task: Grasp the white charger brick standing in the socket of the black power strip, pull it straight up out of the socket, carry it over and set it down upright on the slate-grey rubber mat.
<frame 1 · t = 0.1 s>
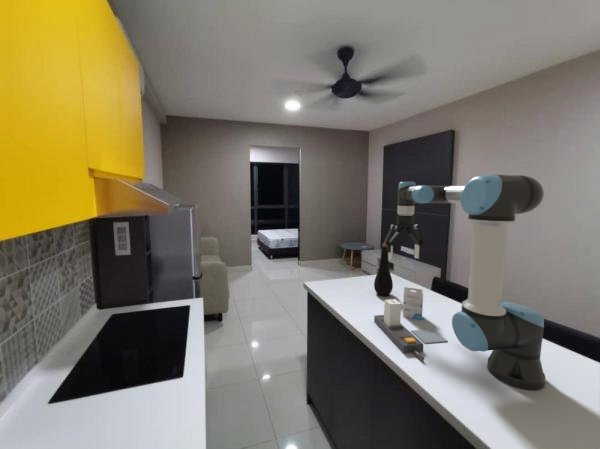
hand: (403, 258, 135), 28 cm above the table, fingers open, 13 cm apart
mat: (428, 336, 117), on the table
power strip: (396, 335, 118), on the table
charger: (391, 323, 121), point 3 cm above the table, touching power strip
bottle: (382, 294, 165), on the table
ink box: (412, 316, 136), on the table
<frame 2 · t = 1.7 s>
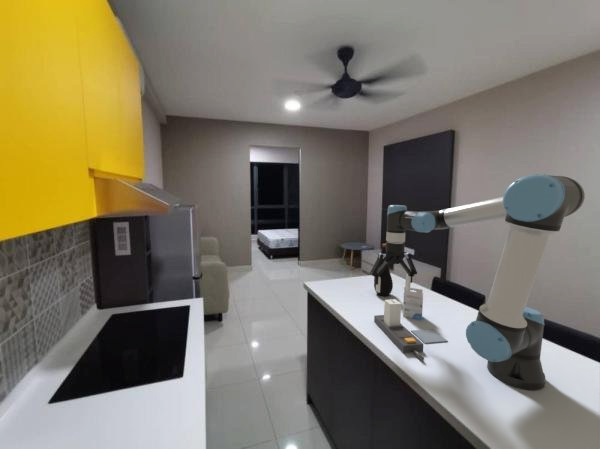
hand: (392, 290, 120), 18 cm above the table, fingers open, 13 cm apart
nothing on the table moved.
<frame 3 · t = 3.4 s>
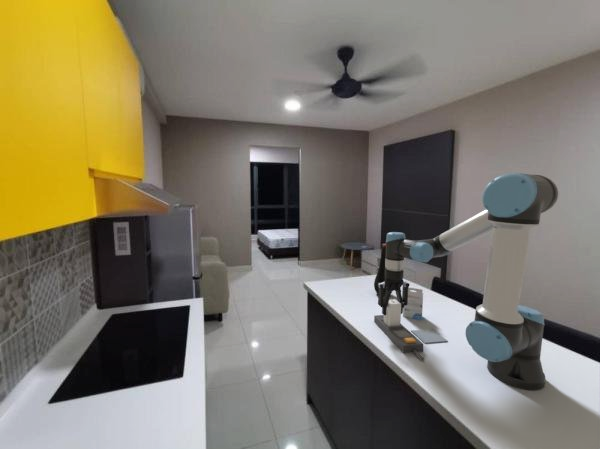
hand: (391, 321, 121), 4 cm above the table, fingers closed on charger, 5 cm apart
charger: (391, 323, 121), point 3 cm above the table, touching gripper, power strip
everything else where it was.
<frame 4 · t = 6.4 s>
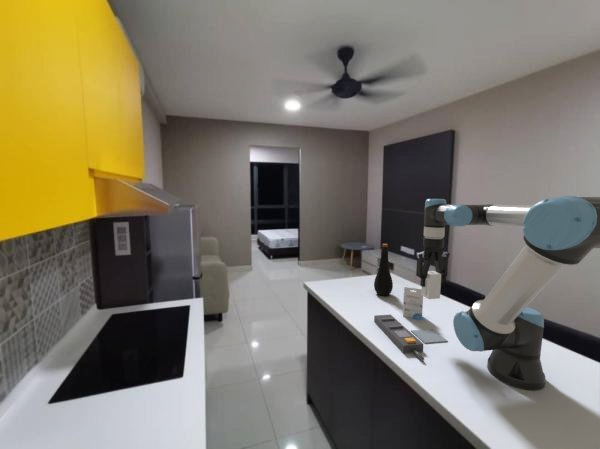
hand: (430, 293, 115), 19 cm above the table, fingers closed on charger, 5 cm apart
charger: (430, 296, 115), point 17 cm above the table, touching gripper
everything else where it was.
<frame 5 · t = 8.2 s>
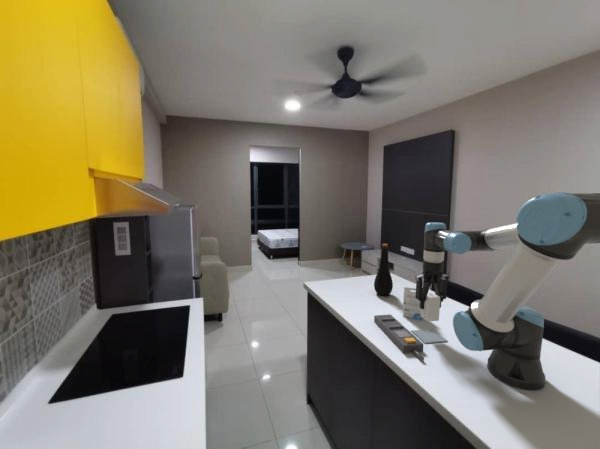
hand: (429, 315, 116), 9 cm above the table, fingers closed on charger, 5 cm apart
charger: (429, 318, 116), point 8 cm above the table, touching gripper
everything else where it was.
when the fingers open (3 cm above the table, at t = 9.6 s): charger drops 2 cm, resting on mat.
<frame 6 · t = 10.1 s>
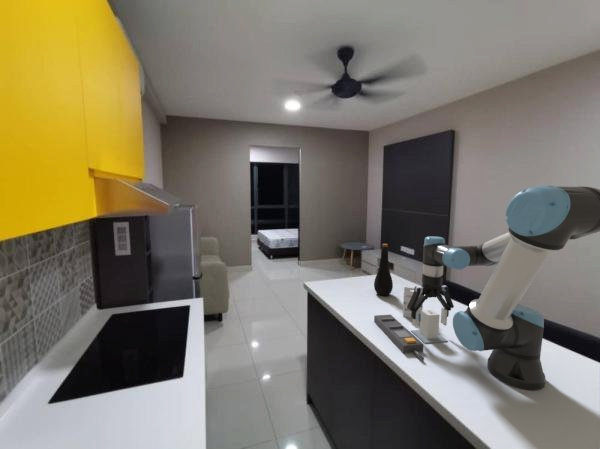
hand: (429, 325, 116), 5 cm above the table, fingers open, 12 cm apart
charger: (428, 335, 117), resting on mat
everything else where it was.
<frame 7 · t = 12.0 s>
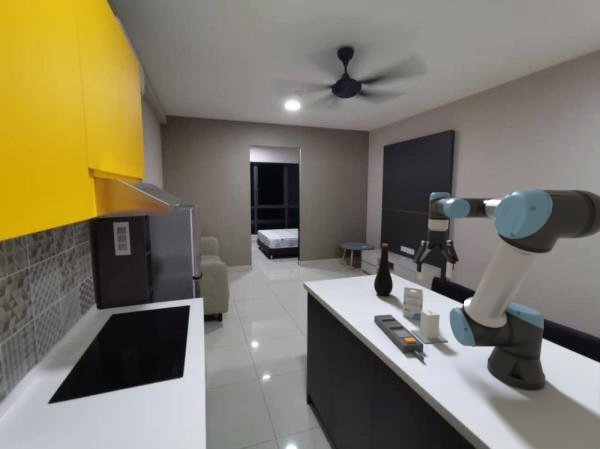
hand: (434, 278, 120), 23 cm above the table, fingers open, 13 cm apart
nothing on the table moved.
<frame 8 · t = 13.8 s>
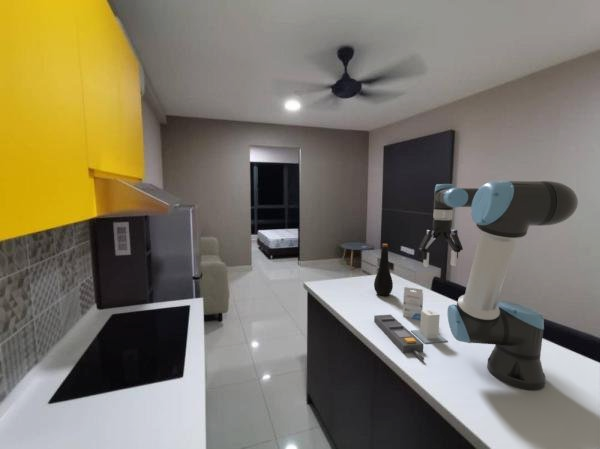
hand: (439, 266, 126), 27 cm above the table, fingers open, 13 cm apart
nothing on the table moved.
at the end: charger inside the target area on the mat (0.0 cm from its centre), point 0.4 cm above the mat's base; charger tilted 0°; charger touching mat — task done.
